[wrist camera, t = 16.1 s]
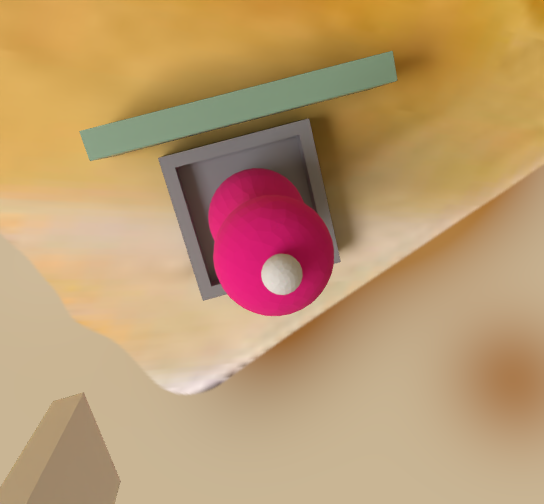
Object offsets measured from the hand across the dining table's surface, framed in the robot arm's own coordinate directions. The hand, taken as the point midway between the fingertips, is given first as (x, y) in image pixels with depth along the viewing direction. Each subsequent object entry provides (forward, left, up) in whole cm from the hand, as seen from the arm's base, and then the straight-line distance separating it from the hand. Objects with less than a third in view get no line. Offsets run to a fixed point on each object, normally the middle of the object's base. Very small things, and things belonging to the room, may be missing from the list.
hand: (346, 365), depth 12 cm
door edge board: (-1, -8, -28) cm, 29 cm away
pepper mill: (0, 0, -28) cm, 28 cm away
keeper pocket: (0, 0, -28) cm, 28 cm away
